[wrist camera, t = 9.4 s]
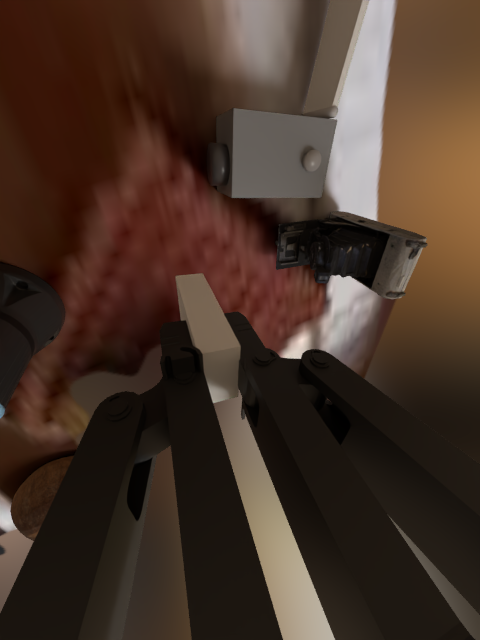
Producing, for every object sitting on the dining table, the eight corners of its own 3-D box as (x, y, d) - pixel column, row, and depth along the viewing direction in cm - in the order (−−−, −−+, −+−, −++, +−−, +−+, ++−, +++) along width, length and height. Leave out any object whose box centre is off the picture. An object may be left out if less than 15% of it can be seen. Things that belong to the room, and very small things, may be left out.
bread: (-10, 481, 56) (-43, 554, 46) (105, 435, 60) (98, 492, 50) (61, 512, 72) (48, 571, 62) (148, 473, 76) (149, 523, 66)
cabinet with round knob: (204, 190, 37) (218, 198, 30) (201, 115, 32) (217, 104, 25) (294, 191, 42) (324, 198, 35) (304, 125, 37) (341, 119, 30)
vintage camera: (270, 214, 43) (336, 252, 28) (343, 208, 47) (438, 238, 31) (267, 264, 49) (320, 318, 34) (333, 256, 53) (408, 301, 37)
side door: (334, -23, 29) (380, -65, 23) (346, -15, 30) (394, -54, 24) (299, 122, 36) (328, 116, 30) (310, 125, 37) (340, 120, 31)
